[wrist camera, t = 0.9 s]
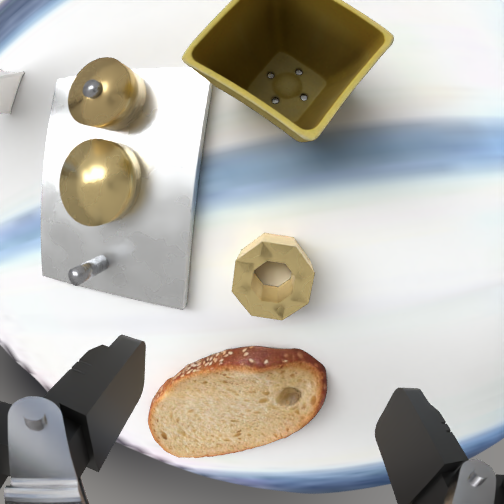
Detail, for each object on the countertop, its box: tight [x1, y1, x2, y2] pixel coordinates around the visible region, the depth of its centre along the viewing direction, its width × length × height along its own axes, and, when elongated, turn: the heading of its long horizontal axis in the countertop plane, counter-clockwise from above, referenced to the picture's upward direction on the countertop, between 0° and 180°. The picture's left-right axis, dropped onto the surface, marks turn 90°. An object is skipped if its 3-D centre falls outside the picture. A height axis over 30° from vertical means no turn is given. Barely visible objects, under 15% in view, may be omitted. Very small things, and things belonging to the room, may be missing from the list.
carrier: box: [41, 57, 213, 310], centre depth 22 cm, size 16×20×6 cm
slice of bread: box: [148, 346, 327, 458], centre depth 28 cm, size 18×18×4 cm
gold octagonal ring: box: [232, 233, 315, 320], centre depth 24 cm, size 6×6×4 cm
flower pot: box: [182, 0, 394, 142], centre depth 18 cm, size 9×9×9 cm
